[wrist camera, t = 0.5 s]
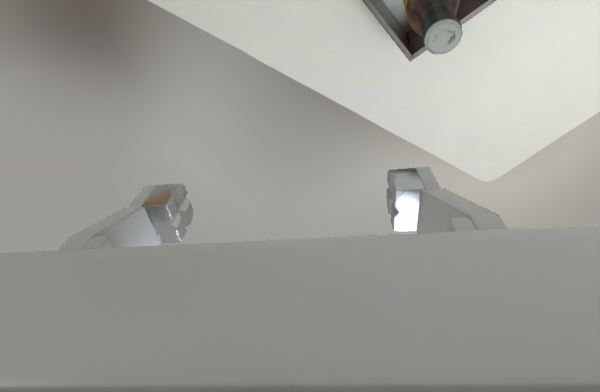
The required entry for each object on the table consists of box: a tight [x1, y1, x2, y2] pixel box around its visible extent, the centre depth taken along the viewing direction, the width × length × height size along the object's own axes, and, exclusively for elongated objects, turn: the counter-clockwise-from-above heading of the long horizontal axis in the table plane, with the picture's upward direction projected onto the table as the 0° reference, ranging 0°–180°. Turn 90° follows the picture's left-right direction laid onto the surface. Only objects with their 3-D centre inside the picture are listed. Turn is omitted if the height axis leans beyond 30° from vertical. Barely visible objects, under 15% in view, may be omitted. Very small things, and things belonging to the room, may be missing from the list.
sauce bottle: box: [403, 0, 462, 54], centre depth 45 cm, size 7×6×20 cm
